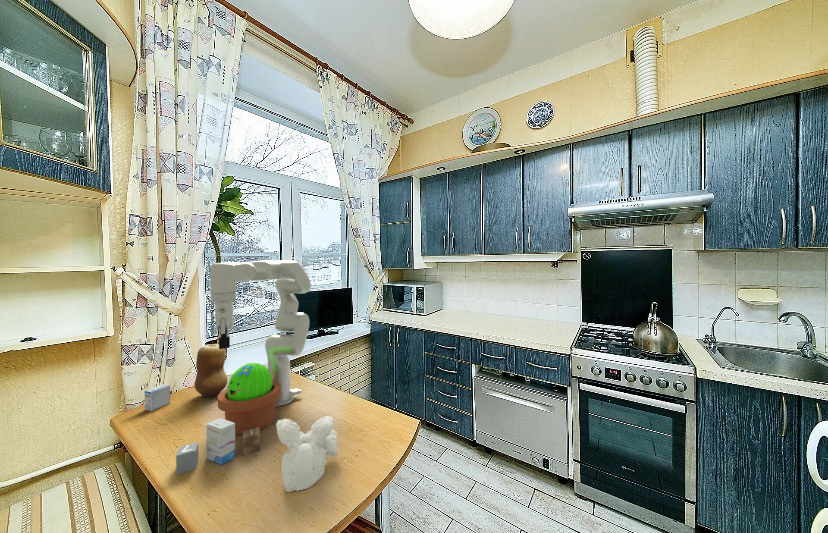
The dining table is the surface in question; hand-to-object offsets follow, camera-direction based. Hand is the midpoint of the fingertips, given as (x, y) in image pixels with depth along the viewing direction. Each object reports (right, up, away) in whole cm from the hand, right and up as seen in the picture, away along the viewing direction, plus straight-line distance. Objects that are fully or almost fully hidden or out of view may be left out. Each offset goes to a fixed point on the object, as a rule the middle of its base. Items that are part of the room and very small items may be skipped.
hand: (224, 347), depth 106 cm
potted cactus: (+2, -35, +14) cm, 38 cm away
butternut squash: (-32, -35, +39) cm, 61 cm away
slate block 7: (-5, -36, -11) cm, 37 cm away
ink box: (+3, -36, -7) cm, 36 cm away
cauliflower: (+35, -36, -12) cm, 51 cm away
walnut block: (+11, -35, -2) cm, 37 cm away
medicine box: (-49, -35, +28) cm, 66 cm away
